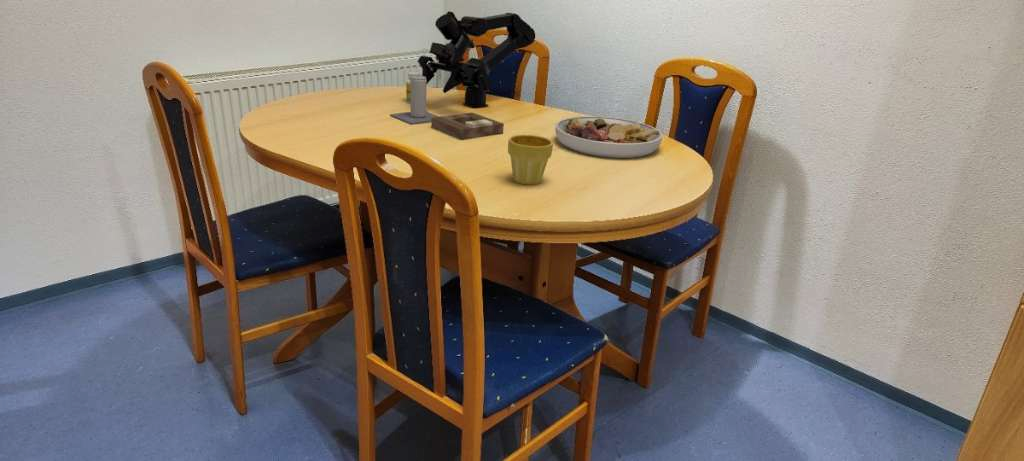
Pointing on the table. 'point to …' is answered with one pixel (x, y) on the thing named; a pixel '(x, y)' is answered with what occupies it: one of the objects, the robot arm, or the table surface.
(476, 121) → the puzzle board
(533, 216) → the table surface
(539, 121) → the table surface
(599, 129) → the bowl
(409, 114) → the rubber mat
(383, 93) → the table surface
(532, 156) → the plant pot
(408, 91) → the supplement bottle
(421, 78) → the beverage can
